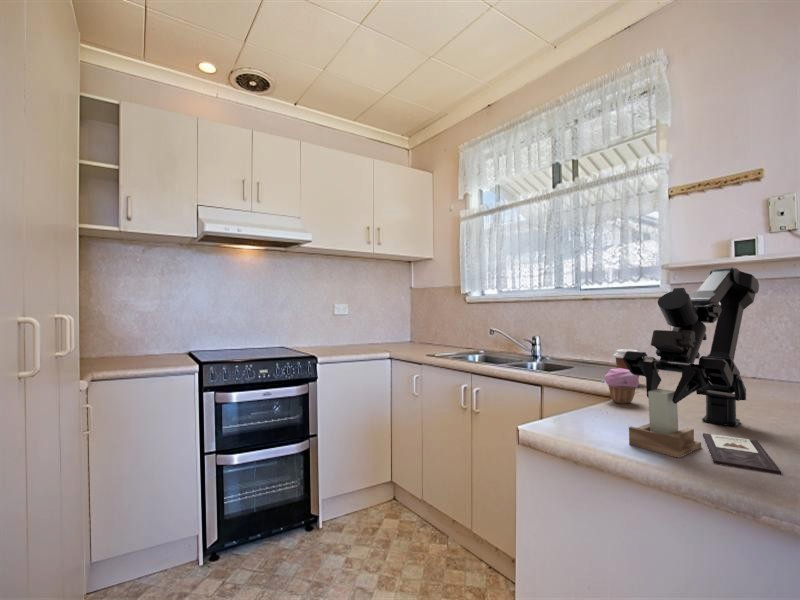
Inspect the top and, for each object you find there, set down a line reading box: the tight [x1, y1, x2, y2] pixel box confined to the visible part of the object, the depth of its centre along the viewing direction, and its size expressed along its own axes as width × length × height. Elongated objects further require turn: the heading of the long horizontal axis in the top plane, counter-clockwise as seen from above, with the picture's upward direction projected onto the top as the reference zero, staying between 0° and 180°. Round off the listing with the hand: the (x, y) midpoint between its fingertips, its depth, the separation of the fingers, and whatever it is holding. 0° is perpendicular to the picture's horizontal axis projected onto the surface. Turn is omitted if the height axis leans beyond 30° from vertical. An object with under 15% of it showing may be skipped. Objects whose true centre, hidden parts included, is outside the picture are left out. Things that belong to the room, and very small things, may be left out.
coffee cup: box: [613, 348, 640, 379], centre depth 145 cm, size 9×9×12 cm
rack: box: [628, 422, 702, 459], centre depth 81 cm, size 10×9×4 cm
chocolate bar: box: [702, 432, 782, 475], centre depth 77 cm, size 9×1×18 cm
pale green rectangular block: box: [647, 388, 679, 435], centre depth 81 cm, size 4×4×10 cm
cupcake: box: [604, 368, 640, 405], centre depth 118 cm, size 9×9×10 cm
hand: (660, 399), depth 80 cm, fingers open, 4 cm apart
